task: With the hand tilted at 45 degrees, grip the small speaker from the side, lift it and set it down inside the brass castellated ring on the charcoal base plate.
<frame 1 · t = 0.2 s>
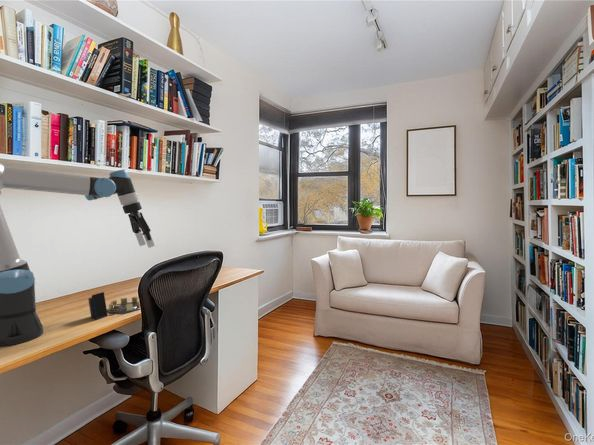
hand: (147, 246, 155), 27 cm above the table, tool tilted 15°, fingers open, 13 cm apart
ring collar: (126, 308, 148), on the table
speaker: (97, 317, 137), on the table
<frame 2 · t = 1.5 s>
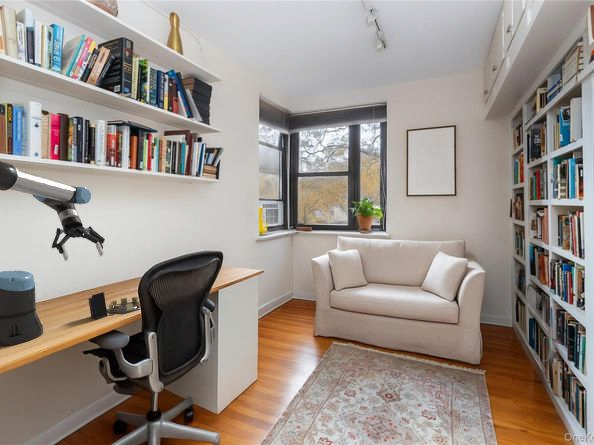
hand: (84, 256, 142), 25 cm above the table, tool tilted 45°, fingers open, 13 cm apart
nothing on the table moved.
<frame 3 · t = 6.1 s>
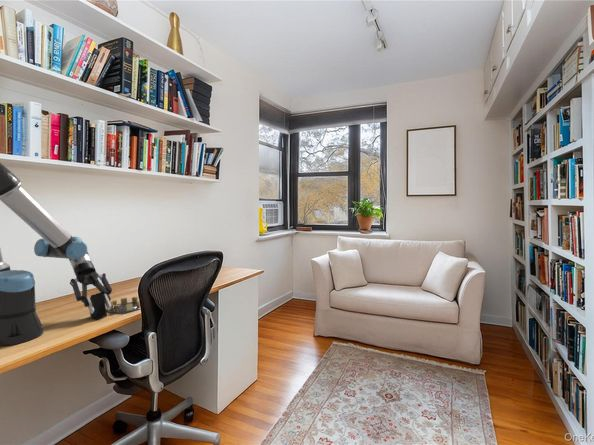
hand: (101, 309, 135), 4 cm above the table, tool tilted 45°, fingers closed on speaker, 6 cm apart
speaker: (97, 317, 137), on the table, touching gripper
when the fingers open (6 cm above the table, at t = 10.9 s): speaker drops 2 cm, resting on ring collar.
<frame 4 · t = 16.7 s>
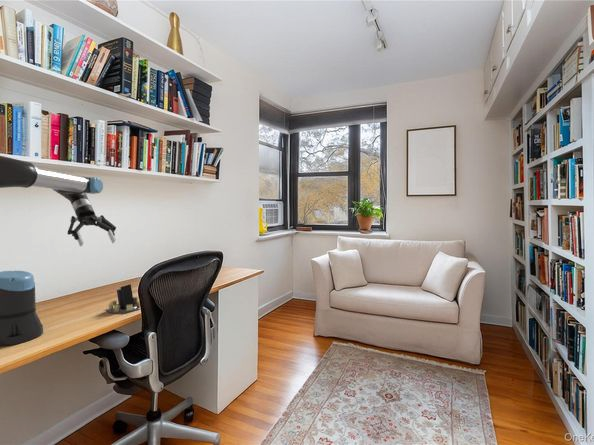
hand: (98, 242, 150), 30 cm above the table, tool tilted 45°, fingers open, 13 cm apart
speaker: (124, 307, 148), resting on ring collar
at the end: speaker 0.8 cm off-centre on the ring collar, point 0.4 cm above the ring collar's base; speaker tilted 0°; the gripper is holding nothing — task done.
